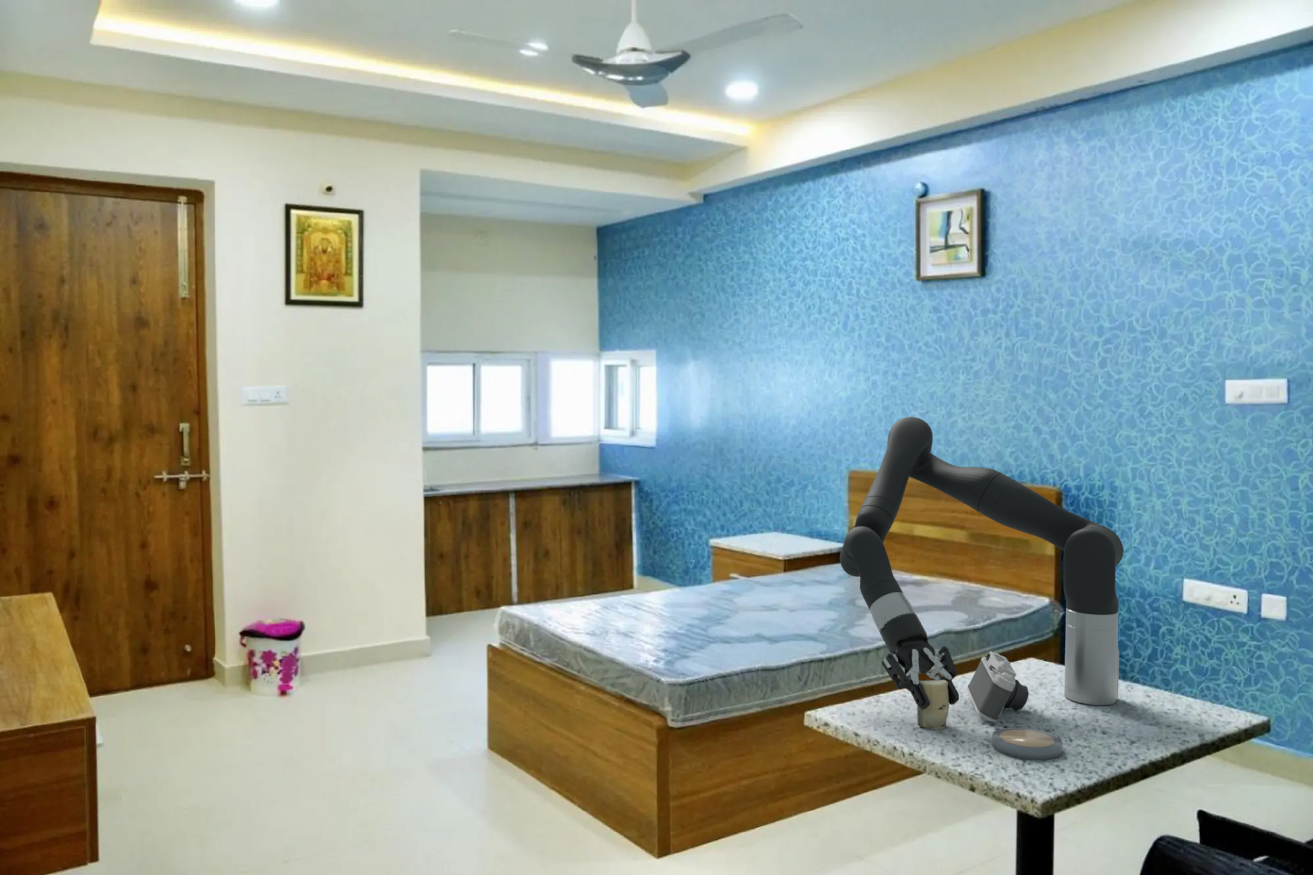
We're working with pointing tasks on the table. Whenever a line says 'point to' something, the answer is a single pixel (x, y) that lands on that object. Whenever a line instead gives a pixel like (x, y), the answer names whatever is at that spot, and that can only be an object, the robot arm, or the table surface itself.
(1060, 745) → the coaster
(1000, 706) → the camera
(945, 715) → the off-white rounded piece
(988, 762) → the table surface
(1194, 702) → the table surface
